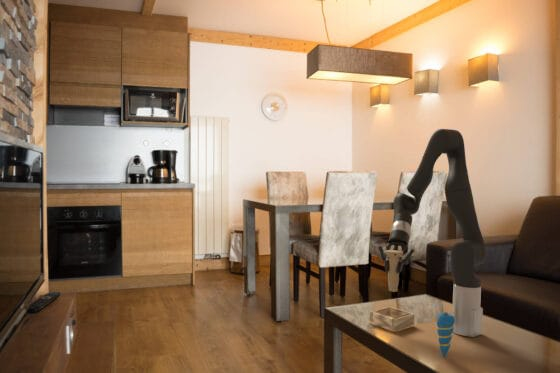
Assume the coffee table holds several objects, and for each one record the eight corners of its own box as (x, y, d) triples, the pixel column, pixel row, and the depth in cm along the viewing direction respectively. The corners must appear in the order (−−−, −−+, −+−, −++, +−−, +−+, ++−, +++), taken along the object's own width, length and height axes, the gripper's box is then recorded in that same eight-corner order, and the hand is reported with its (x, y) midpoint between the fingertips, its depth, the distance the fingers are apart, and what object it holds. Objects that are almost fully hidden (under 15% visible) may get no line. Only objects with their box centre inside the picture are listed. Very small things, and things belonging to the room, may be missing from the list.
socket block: (414, 326, 172) (414, 313, 172) (395, 332, 165) (395, 319, 165) (388, 318, 181) (389, 306, 181) (369, 323, 174) (370, 311, 174)
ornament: (449, 354, 145) (451, 306, 145) (456, 360, 140) (457, 311, 140) (433, 353, 145) (434, 306, 145) (439, 360, 140) (441, 311, 140)
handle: (383, 289, 175) (384, 249, 175) (400, 289, 175) (401, 250, 174) (385, 292, 170) (386, 252, 170) (402, 293, 170) (404, 252, 169)
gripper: (380, 227, 182) (371, 263, 171) (417, 230, 176) (410, 267, 165) (383, 239, 187) (374, 275, 176) (419, 242, 181) (412, 279, 170)
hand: (392, 271), depth 171 cm, fingers closed on handle, 3 cm apart
